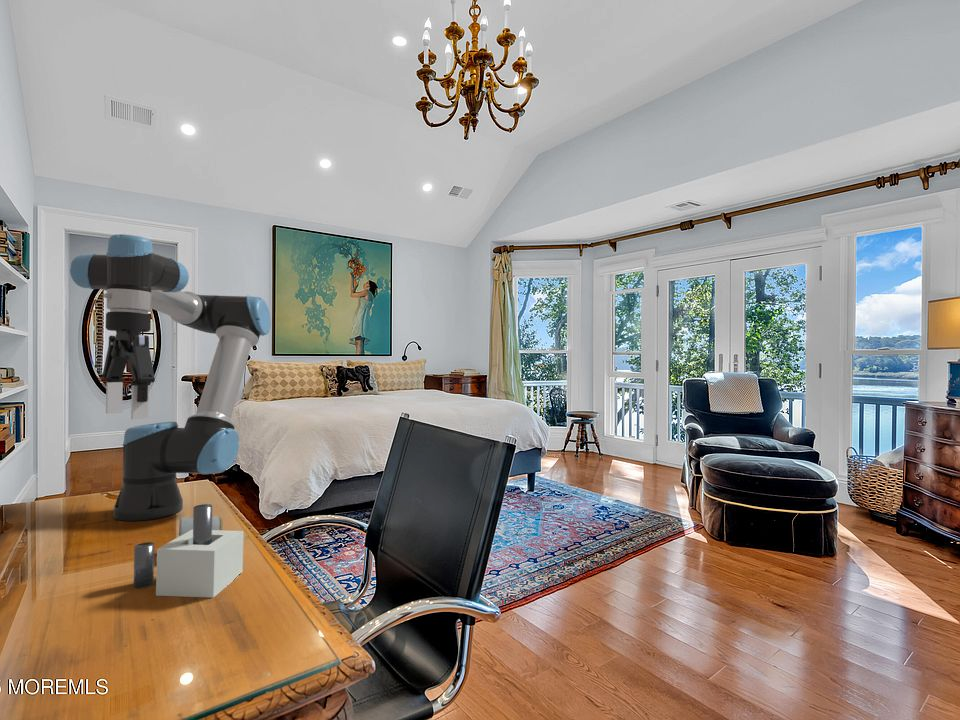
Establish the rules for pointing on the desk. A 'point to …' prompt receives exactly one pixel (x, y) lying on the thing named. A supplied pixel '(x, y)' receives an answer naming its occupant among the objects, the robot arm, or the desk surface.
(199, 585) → the hole block
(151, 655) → the desk surface
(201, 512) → the long pin
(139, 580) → the short pin
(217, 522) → the ceramic mug
